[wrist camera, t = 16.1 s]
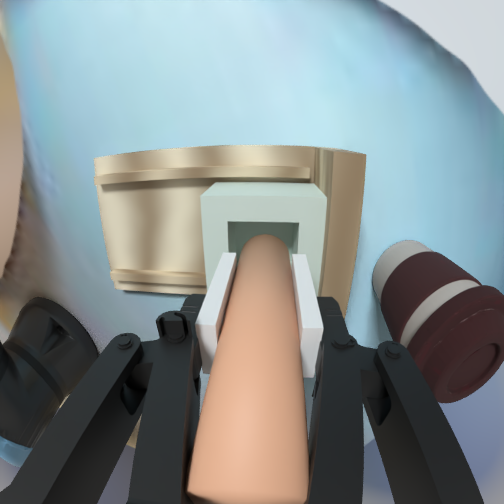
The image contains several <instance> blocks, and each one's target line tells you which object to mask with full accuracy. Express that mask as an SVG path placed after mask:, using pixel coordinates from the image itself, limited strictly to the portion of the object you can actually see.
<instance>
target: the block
mask: <svg viewBox="0 0 504 504" xmlns="http://www.w3.org/2000/svg"><path fill="white" fill-rule="evenodd" d="M200 200H201V218H202V233H203V247H204V260H205V272H206V284H207V292H208V289H209V287H210V284H211V281H212V279H213V276H214V274H215V271H216V269H217V266H218V264H219V261H220V259H221V256H222V254H223V253H236V258H237V265H238V262H239V258H240V254H241V250H242V248H243V246H244V244H245V243H246V242H247V241H248V240H249V239H250V238H252V237H254V236H257V235H261V234H268V235H273V236H275V237H278V238H279V239H281V240H282V241H283V242H284V243H285V245H286V246H287V248H288V251H289V255H290V263H291V266H292V254H306V258H307V262H308V265H309V269H310V273H311V277H312V281H313V285H314V289H315V293H316V297H318V289H319V281H320V272H321V263H322V253H323V243H324V232H325V220H326V207H327V197H326V196H325V195H324V194H323V193H322V192H321V190H320V189H319V188H318V187H317V186H316V185H315V184H314V183H288V182H216V183H214V184H213V185H212V186H211V187H210V188H209V189H208V190H206V191H205V192H204V193H203V194H202V195H201V196H200Z"/></svg>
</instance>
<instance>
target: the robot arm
mask: <svg viewBox="0 0 504 504" xmlns="http://www.w3.org/2000/svg"><path fill="white" fill-rule="evenodd" d="M236 269H237V258H236V253H223V254H222V256H221V259H220V261H219V264H218V266H217V269H216V271H215V274H214V276H213V279H212V281H211V284H210V287H209V289H208V292H207V294H191V295H190V296H189V297H188V298H186V299H185V301H184V304H183V307H182V308H181V310H180V311H168V312H165V313H163V314H161V315H160V316H159V317H158V318H157V319H156V324H157V328H158V332H159V336H160V338H159V339H158V340H153V341H145V342H141V341H140V338H139V337H138V336H137V335H135V334H133V333H124V334H120V335H118V336H116V337H114V338H113V339H112V340H111V341H110V343H109V344H108V345H107V347H106V348H105V349H104V350H103V352H102V353H101V354H100V355H99V357H98V354H97V350H96V348H95V346H94V344H93V342H92V340H91V338H90V337H89V335H88V334H87V332H86V331H85V329H84V328H83V327H82V326H81V325H80V323H79V322H78V321H77V320H76V319H75V318H74V317H73V316H72V315H71V314H70V313H69V312H67V311H66V310H65V309H64V308H62V307H61V306H60V305H58V304H56V303H55V302H53V301H51V300H48V299H46V298H41V297H37V298H33V299H31V300H30V301H29V302H28V303H27V304H26V305H25V306H24V307H23V308H22V309H21V311H20V313H19V316H18V318H17V320H16V322H15V324H14V326H13V328H12V330H11V333H10V335H9V337H8V339H7V340H6V342H5V343H4V344H3V345H2V343H1V341H0V457H1V458H2V459H4V460H5V461H7V462H9V463H10V464H12V465H14V466H17V467H21V468H20V470H19V471H18V473H17V475H16V476H15V478H14V480H13V481H12V483H11V485H9V486H8V487H7V488H5V489H4V490H3V491H1V492H0V504H97V503H98V500H99V499H100V496H101V494H102V492H103V490H104V488H105V486H106V484H107V482H108V480H109V478H110V476H111V474H112V472H113V470H114V468H115V466H116V464H117V461H118V460H119V457H120V455H121V453H122V451H123V449H124V447H125V445H126V443H127V441H128V440H129V438H130V436H131V434H132V432H133V430H134V428H135V426H136V424H137V422H138V420H139V418H140V416H141V414H142V417H141V422H140V427H139V432H138V438H137V443H136V449H135V456H134V461H133V468H132V475H131V482H130V490H129V497H128V501H127V503H126V504H194V503H193V502H192V500H191V499H190V498H189V497H188V495H187V494H186V493H185V484H186V476H187V470H188V464H189V460H190V456H191V451H192V447H193V443H194V439H195V434H196V430H197V426H198V422H199V411H200V389H201V379H200V370H201V367H202V370H203V373H204V374H210V372H211V368H212V364H213V360H214V356H215V352H216V348H217V344H218V340H219V336H220V332H221V328H222V324H223V320H224V316H225V312H226V308H227V304H228V301H229V297H230V293H231V289H232V285H233V281H234V277H235V273H236ZM291 271H292V279H293V287H294V295H295V304H296V313H297V322H298V331H299V340H300V350H301V359H302V370H303V378H314V374H315V371H316V382H315V386H314V390H313V394H312V397H313V406H312V415H311V424H310V432H309V439H308V448H309V483H308V491H307V500H306V501H305V502H304V504H362V494H363V469H364V429H363V404H364V407H365V410H366V413H367V416H368V419H369V422H370V425H371V428H372V430H373V433H374V436H375V440H376V442H377V446H378V449H379V452H380V455H381V458H382V461H383V464H384V467H385V471H386V474H387V477H388V481H389V484H390V488H391V491H392V495H393V498H394V502H395V504H484V502H483V499H482V496H481V494H480V491H479V489H478V486H477V484H476V481H475V479H474V477H473V474H472V472H471V469H470V467H469V465H468V463H467V461H466V458H465V456H464V453H463V452H462V449H461V447H460V445H459V443H458V441H457V439H456V437H455V435H454V432H453V430H452V428H451V426H450V425H449V423H448V421H447V419H446V417H445V415H444V413H443V411H442V409H441V407H440V405H439V404H438V402H437V400H436V398H435V396H434V394H433V393H432V391H431V389H430V387H429V385H428V384H427V382H426V380H425V378H424V377H423V375H422V373H421V371H420V370H419V368H418V366H417V365H416V363H415V361H414V360H413V358H412V356H411V355H410V353H409V351H408V350H407V349H406V348H405V346H404V345H402V344H400V343H398V342H394V341H386V342H383V343H381V344H380V345H379V346H378V349H373V348H367V347H363V346H360V345H358V343H357V341H356V339H355V338H354V337H353V336H351V335H349V333H348V330H347V327H346V324H345V321H344V318H343V316H342V312H341V309H340V306H339V303H338V302H337V301H336V300H335V299H334V298H333V297H316V293H315V289H314V285H313V281H312V277H311V273H310V269H309V265H308V262H307V258H306V254H292V266H291ZM70 393H71V394H70ZM69 394H70V395H69ZM68 395H69V397H68V398H67V399H66V401H65V402H64V404H63V405H62V406H61V408H60V409H59V411H58V412H57V410H58V408H59V407H60V405H61V403H62V402H63V400H64V399H65V397H66V396H68ZM362 402H363V403H362ZM56 412H57V414H56ZM55 414H56V415H55ZM54 415H55V416H54ZM53 417H54V418H53Z"/></svg>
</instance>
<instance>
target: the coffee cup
mask: <svg viewBox="0 0 504 504" xmlns="http://www.w3.org/2000/svg"><path fill="white" fill-rule="evenodd" d="M373 287H374V290H375V292H376V294H377V297H378V299H379V301H380V304H381V311H382V314H383V316H384V319H385V321H386V324H387V326H388V329H389V331H390V334H391V337H392V339H393V341H394V342H398V343H400V344H402V345H404V346H405V348H406V349H407V350H408V351H409V353H410V355H411V356H412V358H413V360H414V361H415V363H416V365H417V366H418V368H419V370H420V371H421V373H422V375H423V377H424V378H425V380H426V382H427V384H428V385H429V387H430V389H431V391H432V393H433V394H434V396H435V398H436V400H437V402H439V403H452V402H456V401H458V400H461V399H463V398H465V397H467V396H469V395H470V394H472V393H474V392H475V391H476V390H478V389H479V388H480V387H482V386H483V385H484V384H485V383H486V382H487V381H488V380H489V379H490V378H491V377H492V376H493V375H494V374H495V372H496V371H497V370H498V369H499V367H500V365H501V364H502V362H503V361H504V295H503V294H502V293H501V292H500V291H499V290H497V289H496V288H494V287H491V286H486V285H482V284H481V283H480V282H479V281H478V280H477V279H476V278H474V277H473V276H471V275H470V274H469V273H467V272H466V271H465V270H463V269H462V268H461V267H459V266H458V265H456V264H455V263H454V262H452V261H451V260H449V259H448V258H446V257H445V256H443V255H442V254H440V253H437V252H434V251H432V250H431V249H429V248H428V247H426V246H425V245H423V244H422V243H420V242H417V241H413V240H405V241H401V242H398V243H396V244H394V245H392V246H390V247H389V248H388V249H387V250H386V251H385V252H384V253H383V254H382V255H381V256H380V258H379V259H378V261H377V263H376V265H375V268H374V271H373Z"/></svg>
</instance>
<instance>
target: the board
mask: <svg viewBox="0 0 504 504" xmlns="http://www.w3.org/2000/svg"><path fill="white" fill-rule="evenodd" d="M94 165H95V177H94V183H95V185H97V194H98V202H99V209H100V216H101V222H102V228H103V234H104V239H105V245H106V250H107V255H108V259H109V264H110V269H111V272H110V276H111V280H113V281H114V286H115V289H121V290H133V291H146V292H160V293H175V294H207V284H206V272H205V260H204V247H203V233H202V218H201V200H200V196H201V195H202V194H203V193H204V192H205V191H206V190H208V189H209V188H210V187H211V186H212V185H213V184H214V183H216V182H288V183H314V184H315V185H316V186H317V187H318V188H319V189H320V190H321V192H322V193H323V194H324V195H325V196H326V197H327V207H326V220H325V232H324V243H323V253H322V263H321V272H320V281H319V289H318V297H333V298H334V299H335V300H336V301H337V302H338V303H339V306H340V309H341V312H342V316H343V318H344V320H345V315H346V310H347V305H348V300H349V295H350V289H351V284H352V278H353V272H354V266H355V260H356V253H357V246H358V239H359V231H360V223H361V214H362V204H363V194H364V182H365V168H366V154H362V153H357V152H352V151H347V150H342V149H337V148H326V147H310V146H288V145H222V146H199V147H183V148H170V149H159V150H149V151H140V152H132V153H124V154H117V155H110V156H103V157H98V158H94Z"/></svg>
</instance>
